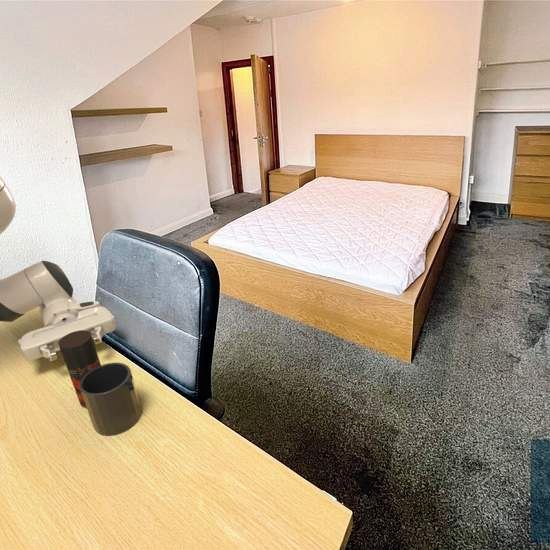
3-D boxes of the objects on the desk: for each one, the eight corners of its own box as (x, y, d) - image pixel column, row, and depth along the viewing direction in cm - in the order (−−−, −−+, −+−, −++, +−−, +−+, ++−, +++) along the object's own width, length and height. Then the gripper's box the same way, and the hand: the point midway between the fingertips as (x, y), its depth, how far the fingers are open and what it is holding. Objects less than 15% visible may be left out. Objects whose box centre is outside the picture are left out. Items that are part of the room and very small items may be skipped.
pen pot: (83, 428, 78) (68, 388, 74) (117, 396, 86) (105, 358, 81) (118, 441, 75) (105, 400, 71) (151, 407, 82) (140, 368, 78)
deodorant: (75, 398, 86) (54, 339, 80) (103, 384, 90) (85, 326, 83) (85, 412, 82) (63, 352, 76) (114, 397, 86) (95, 338, 79)
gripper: (12, 327, 94) (18, 356, 84) (103, 298, 104) (118, 320, 94) (22, 349, 97) (28, 380, 87) (109, 319, 107) (125, 343, 97)
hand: (76, 349), depth 90 cm, fingers open, 8 cm apart
